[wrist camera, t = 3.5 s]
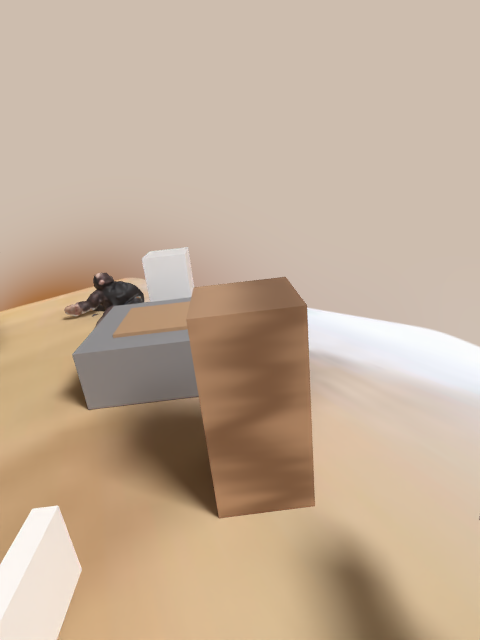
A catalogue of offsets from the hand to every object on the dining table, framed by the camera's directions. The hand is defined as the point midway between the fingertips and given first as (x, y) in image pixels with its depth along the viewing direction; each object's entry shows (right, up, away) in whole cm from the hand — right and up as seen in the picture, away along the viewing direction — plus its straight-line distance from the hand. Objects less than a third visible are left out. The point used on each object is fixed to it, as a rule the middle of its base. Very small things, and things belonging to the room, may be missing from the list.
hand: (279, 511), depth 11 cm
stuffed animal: (-21, +7, +44) cm, 50 cm away
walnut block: (0, -3, +10) cm, 10 cm away
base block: (-8, +1, +24) cm, 25 cm away
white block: (-9, +6, +36) cm, 38 cm away
